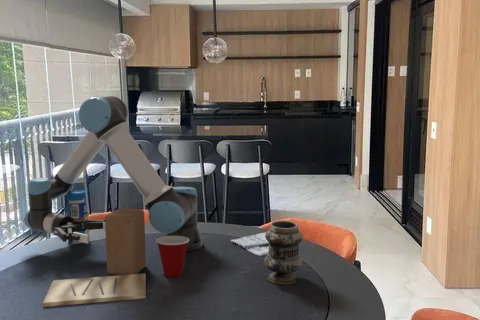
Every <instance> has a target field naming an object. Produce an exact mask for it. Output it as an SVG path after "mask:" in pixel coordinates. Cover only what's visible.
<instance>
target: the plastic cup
mask: <svg viewBox="0 0 480 320" xmlns="http://www.w3.org/2000/svg"><path fill="white" fill-rule="evenodd" d="M155 241H156V244H157V246H158V250H159V255H160V261H161V265H162V271H163V274H164V276H166V277H168V278H177V277H180V276H182V274H183V271H184V264H185V258H186V253H187V252H186V248H187V245H188V242H189V238H187V237H183V236H164V235H163V236H160V237H157V238H156V239H155Z"/></svg>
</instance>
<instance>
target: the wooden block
mask: <svg viewBox="0 0 480 320" xmlns="http://www.w3.org/2000/svg"><path fill="white" fill-rule="evenodd" d="M104 219H105V230H104V231H105V249H106V268H107V269H106V270H107V271H106V272H107V274H108V275H114V276H118V275H131V274H139V272H141V271H142V270H143V269H144V268H145V267H146V265H147V262H146V261H147V260H146V258H147V256H146V231H145V230H146V229H145V226H146V225H145V210H143V209H139V208H138V209H135V208H134V209H132V208H116V209H114V210H113V211H111V212H110V213H108V214H105V217H104Z"/></svg>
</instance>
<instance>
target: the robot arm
mask: <svg viewBox="0 0 480 320" xmlns="http://www.w3.org/2000/svg"><path fill="white" fill-rule="evenodd" d="M128 115H129V111H128V107H127V104H126V103H125V102H124V101H123V99H121V98H119V97H117V96H114V95H113V96H111V95H107V96H100V95H99V96H97V95H95V96H94V97H90V98H86V99H85V100H84V101H83V102H82V104H81V105H80V107H79V111H78V121H79V122H80V125H81V126H82V128H83V129H85V130H86V131H87V132H86V134H85V135H84V137H83V138H82V139H81V141H80V142H79V143H78V145H77V146H76V147H75V149H73V151H72V152H71V154H70V155H69V156H68V158H67V159H66V160H65V162H64V163H63V164H62V166H60V169H59V170H58V171H57V173H56V174H55V176H54V177H53V178H52V179H50V178H48V177H36V178H32V179H30V180H28V190H27V191H28V201H29V210H28V211H27V212H26V213H25V216H24V217H23V223H24V225H25V227H27V228H28V229H31V230H34V231H37V232H43V233H48V234H52V235H53V236H57V237H58V238H59V239H60V240H61V241H62V242H64V243H65V242H68V239H69V242H68V243H70V244H73V243H72V242H73V241H72V240H74V241H79V242H83V243H82V244H89V243H90V234H89V235H87V234H82V233H77V232H78V231H86V230H89V231H90V230H103V231H105V218H104V219H89V218H88V219H82V221H75V220H74V219H73V218H72V217H71V216H68V215H66V214H62V213H58V212H54V211H53V210H52V209H53V207H52V206H53V203H52V201H54V200H57V199H59V198H62V197H65V196H67V192H69V191H73V189H74V186H75V185H74V184H75V183H76V182H77V180H78V179H79V178H80V177H81V175H82V174H83V173H84V171H85V170H86V169H87V168H88V166H89V165H90V164H91V162H92V161H93V160H94V158H95V157H97V154H99V152H100V150H102V149H103V147H104V146H105V144H106V145H107V146H108V148H109V149H110V151H111V152H112V154H113V155H114V157H115V158H116V160H117V161H118V162H119V163H120V165H121V166H122V168H123V169H124V171H125V172H126V173H127V175H128V176H129V178H130V179H131V181H132V183H133V184H134V185H135V186H136V187H135V188H137V190H138V192H139V193H140V194H141V195H142V197H143V198H144V204H143V206H144V208H145V209H146V211H147V212H148V221H149V224H150V226H151V227H152V228H153V229H154V230H155V231H157V232H159V233H163V234H164V235H163V237H164V236H183V237H187V238H189V242H188V245H187V248H186V253H189V252H194V251H198V250H199V249H201V248H202V246H203V239H202V235H201V233H200V229H199V227H198V194H197V193H198V192H197V189H196V188H195V187H193V186H192V187H191V186H171V185H167V184H165V182H164V181H163V179H162V178H161V176H160V174H159V173H158V172H157V171H156V169H155V168H154V167H153V165H152V164H151V162H150V161H149V159H148V157H146V155H145V153H144V152H143V150H142V149H141V147H140V146H139V145H138V143H137V142H136V140H135V139H134V137H133V136H132V134H131V133H130V132H129V130H128V121H127V119H128ZM82 226H84V229H82ZM72 233H73V234H72Z"/></svg>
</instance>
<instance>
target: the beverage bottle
mask: <svg viewBox="0 0 480 320" xmlns="http://www.w3.org/2000/svg"><path fill="white" fill-rule="evenodd" d="M66 198H67V201H68V203H67V205H66V207H65V211H66V214H65V215H68V216H71V217H72V218H73V219H74V220H75V221H82V219H88V220H89V215H90V214H89V211H88V209H89V207H88V204H87V202H86V201H85V200H86V191H85V190H82V189H74V190H72V191H69V192H67V195H66ZM82 229H84V226H82ZM77 233H82V234H87V235H89V236H90V229H89V230H86V231H78V232H77ZM72 234H73V233H72ZM72 241H73V242H72V243H71V244H84V243H83V242H79V241H74V240H72ZM67 243H69V239H68V240H67Z"/></svg>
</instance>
